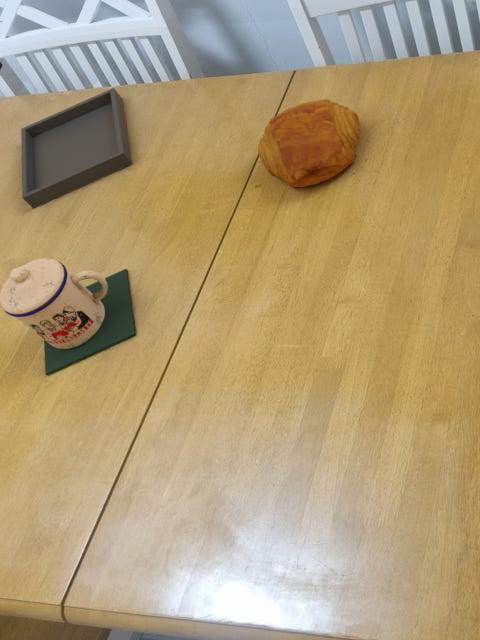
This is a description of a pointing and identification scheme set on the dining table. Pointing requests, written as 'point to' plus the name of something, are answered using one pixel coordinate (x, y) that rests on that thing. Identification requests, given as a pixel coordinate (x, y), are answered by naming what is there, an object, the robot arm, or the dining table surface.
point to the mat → (110, 333)
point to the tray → (74, 148)
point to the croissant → (310, 142)
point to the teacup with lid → (54, 302)
